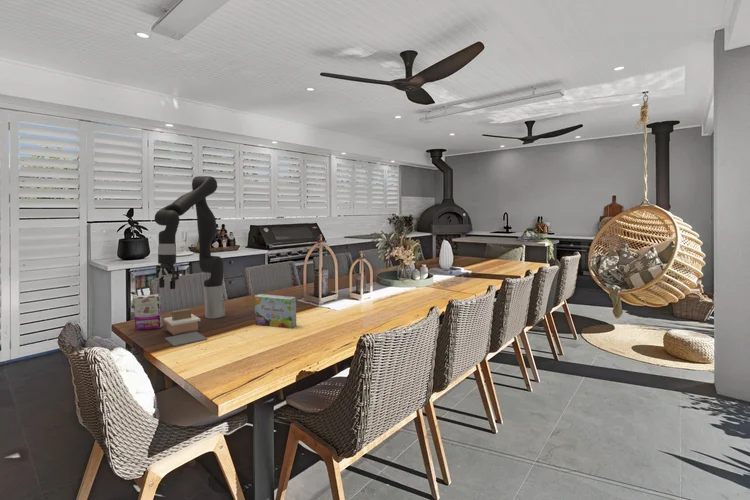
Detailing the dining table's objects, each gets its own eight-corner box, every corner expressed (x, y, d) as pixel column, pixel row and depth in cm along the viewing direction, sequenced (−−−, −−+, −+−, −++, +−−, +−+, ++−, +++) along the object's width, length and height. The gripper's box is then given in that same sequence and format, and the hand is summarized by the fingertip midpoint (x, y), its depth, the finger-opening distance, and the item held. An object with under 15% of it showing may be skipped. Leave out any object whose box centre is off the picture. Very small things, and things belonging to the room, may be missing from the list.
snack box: (254, 325, 208) (253, 295, 207) (261, 322, 213) (260, 293, 212) (291, 329, 201) (290, 298, 200) (297, 325, 207) (296, 296, 205)
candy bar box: (162, 326, 206) (161, 293, 205) (160, 328, 202) (158, 296, 200) (137, 327, 203) (135, 295, 202) (135, 330, 199) (132, 297, 197)
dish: (190, 325, 206) (190, 316, 206) (198, 330, 198) (197, 320, 198) (166, 330, 199) (166, 320, 199) (173, 335, 191) (173, 325, 190)
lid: (191, 315, 207) (190, 305, 207) (200, 320, 198) (199, 310, 197) (163, 320, 199) (162, 310, 198) (171, 326, 189) (170, 315, 188)
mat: (196, 332, 195) (196, 331, 195) (207, 339, 185) (207, 338, 185) (164, 339, 186) (164, 337, 186) (174, 346, 176) (173, 345, 176)
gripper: (183, 253, 190) (183, 288, 191) (165, 252, 197) (165, 286, 198) (168, 254, 184) (168, 290, 184) (150, 253, 191) (150, 287, 192)
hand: (167, 288), depth 191 cm, fingers open, 8 cm apart
